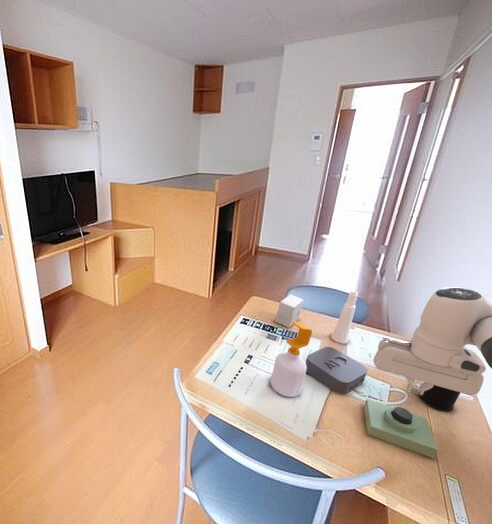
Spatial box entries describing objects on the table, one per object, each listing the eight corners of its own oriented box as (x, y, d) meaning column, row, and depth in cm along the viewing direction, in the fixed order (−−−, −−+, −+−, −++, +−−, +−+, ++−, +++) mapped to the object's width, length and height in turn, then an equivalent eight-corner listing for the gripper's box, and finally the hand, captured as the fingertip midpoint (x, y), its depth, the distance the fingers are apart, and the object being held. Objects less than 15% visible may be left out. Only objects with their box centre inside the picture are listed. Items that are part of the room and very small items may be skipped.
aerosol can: (427, 408, 93) (454, 356, 85) (412, 388, 100) (435, 338, 92) (459, 414, 91) (490, 361, 83) (441, 393, 98) (468, 342, 90)
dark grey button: (408, 415, 85) (411, 410, 84) (411, 426, 81) (414, 421, 81) (390, 410, 86) (393, 404, 86) (393, 420, 83) (395, 415, 82)
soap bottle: (264, 380, 102) (277, 319, 93) (285, 374, 105) (300, 313, 96) (284, 400, 95) (301, 335, 85) (306, 393, 98) (325, 329, 88)
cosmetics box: (289, 328, 131) (294, 307, 127) (274, 322, 135) (279, 301, 131) (299, 319, 137) (304, 299, 133) (285, 313, 142) (289, 293, 138)
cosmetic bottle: (348, 345, 120) (364, 296, 112) (330, 340, 123) (345, 292, 115) (347, 337, 125) (363, 290, 117) (331, 333, 128) (345, 286, 120)
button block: (422, 425, 87) (428, 413, 85) (433, 458, 78) (440, 445, 76) (363, 406, 93) (368, 393, 91) (367, 434, 84) (373, 421, 82)
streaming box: (325, 356, 114) (329, 345, 112) (366, 381, 103) (371, 369, 101) (300, 368, 108) (303, 357, 106) (340, 397, 96) (345, 384, 94)
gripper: (383, 343, 77) (368, 385, 82) (496, 370, 68) (470, 416, 73) (379, 330, 82) (365, 370, 87) (484, 354, 73) (460, 397, 78)
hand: (414, 391), depth 80 cm, fingers closed
